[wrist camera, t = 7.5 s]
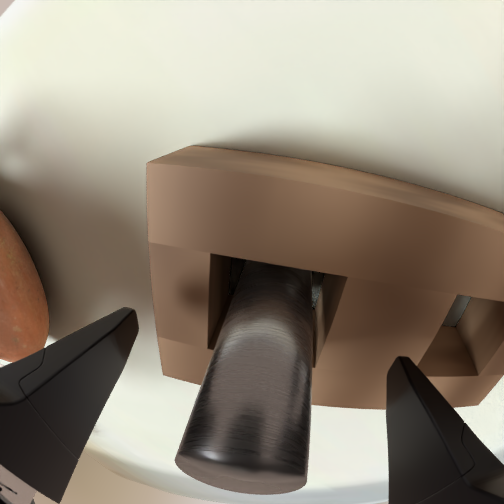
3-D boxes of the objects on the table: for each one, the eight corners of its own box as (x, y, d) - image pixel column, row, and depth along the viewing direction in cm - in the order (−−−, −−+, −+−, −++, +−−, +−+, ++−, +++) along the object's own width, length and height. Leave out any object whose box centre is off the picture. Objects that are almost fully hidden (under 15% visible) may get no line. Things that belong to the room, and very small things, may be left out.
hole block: (528, 223, 10) (571, 258, 7) (460, 360, 15) (477, 405, 12) (190, 145, 12) (146, 163, 9) (187, 324, 17) (163, 374, 13)
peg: (317, 240, 13) (324, 465, 4) (304, 294, 15) (290, 499, 6) (251, 228, 13) (167, 437, 5) (244, 284, 15) (180, 478, 6)
